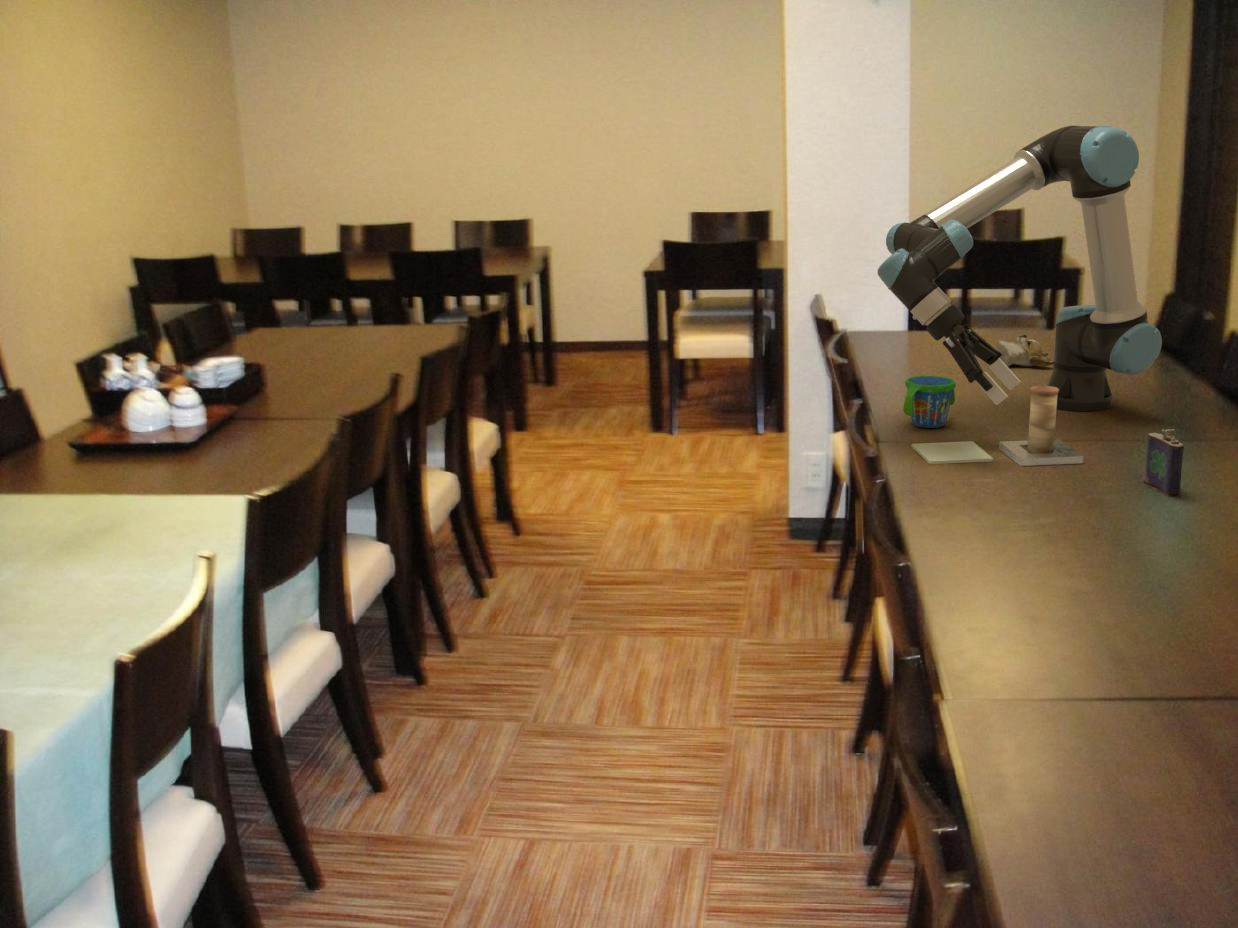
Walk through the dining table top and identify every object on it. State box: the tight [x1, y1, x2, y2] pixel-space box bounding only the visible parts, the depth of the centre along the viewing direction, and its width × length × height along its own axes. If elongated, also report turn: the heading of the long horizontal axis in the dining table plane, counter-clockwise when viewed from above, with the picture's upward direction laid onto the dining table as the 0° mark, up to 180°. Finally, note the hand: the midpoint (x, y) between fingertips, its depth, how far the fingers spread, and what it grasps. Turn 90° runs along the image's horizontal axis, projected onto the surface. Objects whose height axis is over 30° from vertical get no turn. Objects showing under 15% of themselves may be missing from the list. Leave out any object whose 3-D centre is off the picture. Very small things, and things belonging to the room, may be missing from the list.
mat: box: [911, 440, 994, 465], centre depth 263 cm, size 13×13×1 cm
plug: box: [1027, 385, 1059, 454], centre depth 258 cm, size 5×5×14 cm
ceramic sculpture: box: [996, 334, 1054, 368], centre depth 338 cm, size 11×9×15 cm
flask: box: [1143, 428, 1185, 498], centre depth 236 cm, size 10×3×12 cm, turn 8°
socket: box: [998, 438, 1084, 467], centre depth 260 cm, size 13×13×2 cm
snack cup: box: [902, 375, 957, 429], centre depth 284 cm, size 16×10×10 cm
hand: (1009, 393), depth 259 cm, fingers open, 13 cm apart
